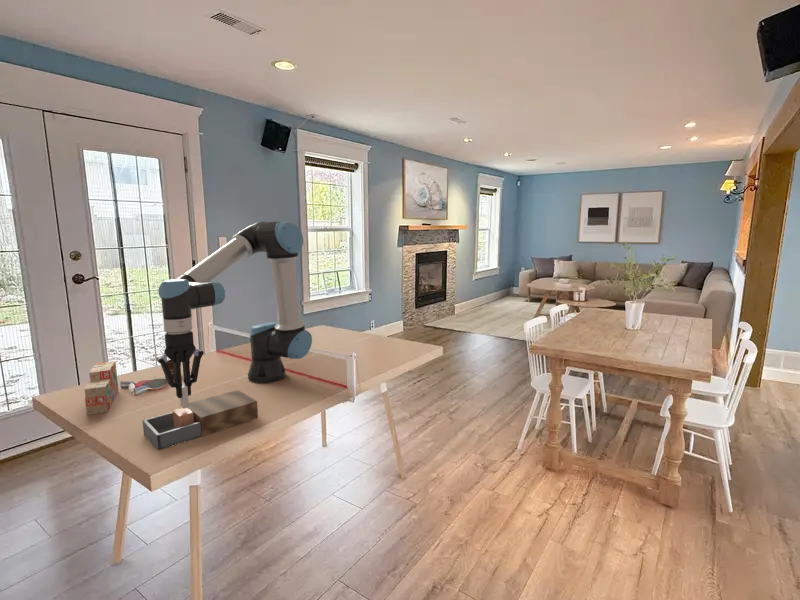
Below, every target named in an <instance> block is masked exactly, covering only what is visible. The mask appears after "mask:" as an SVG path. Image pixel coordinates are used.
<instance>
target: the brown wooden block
mask: <svg viewBox="0 0 800 600" xmlns="http://www.w3.org/2000/svg"><path fill="white" fill-rule="evenodd" d="M258 408H259V407H258V400H256V399H255V398H253V397H251V396H249V395H247V394H246V393H244V392H242V391H241V390H239V389H236V390H233V391H230V392H225V393H221V394H217V395H214V396H210V397H207V398H202V399H199V400H195V401H190V402H189V407H188V409H190V410H191V411H192V412H193V414H194V423H197V422H200V424H201V435H202V436H201V437H204V435H205V436H207V435H206V434H208V435H210V434H209V433H211V434H213V432H214V433H216V431H217V432H220V431H223V430H225V428H227V429H229V427H230V428H232V426H233V427H235V425H236V426H239V425H241V424H244V423H248V422H251V421H254V420H257V419H259V414H258V410H259V409H258ZM238 424H239V425H238ZM222 429H223V430H222ZM219 430H220V431H219Z"/></svg>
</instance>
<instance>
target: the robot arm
mask: <svg viewBox="0 0 800 600" xmlns="http://www.w3.org/2000/svg"><path fill="white" fill-rule="evenodd" d="M303 246H304V236H303V232H302V230H301V229H300V227H299V226H297V224H296V223H294V222H291V221H283V220H281V221H278V220H277V221H259V222H258V221H257V222H254V223H253V224H251V225H248V226H247V227H245V228H243V229H242V230H240V231H238V232H237V233H235V234H234V235H233V236H232V237H231V239H230V241H228V242H227V243H225V244H224V245H223V246H221V247H220V248H219V249H217V250H216V251H214V252H213V253H212V254H210V255H209V256H207V257H206V258H205V259H203V260H201V261H200V262H199V263H197V264H196V265H193V267H191V268H190V269H188V270H187V271H186V272H184V273H183V274H181V275H180V276H177V278H176V279H165V280H163V281H161V283H160V284H159V286H158V297H159V298H160V300H161V307H162V318H163V331H164V332H165V334H164V341H165V342H164V343H165V349H164V351H163V352H164V353H163V354H162V355H161V356H158V357H156V360H155V361H157V362H158V363H159V364H160V366H161V368H162V371H163V374H164V377H166V378H165V379H166V381H167V384H168V386H169V387H170V388H172V389H173V388H175V394H176V397H177V398H178V399H180V407H181V408H188V407H189V403H190V402H189V396H192V386H193V384H194V383H197V380H198V377H199V371H200V364H201V359H202V358H203V355H204V351H203V350H201V349H198V348H196V346H195V344H194V331H192V330H193V321H192V316H193V315H192V310H195V309H200V308H207V307H214V306H216V305H220V304H222V303H224V301H225V298H226V290H225V287H224V286H223V284H222V283H220V282H219V281H214V280H216V279H217V278H218V277H220V276H221V275H222V274H224V273H226V272H227V271H228V270H229V269H231V268H232V267H234V266H235V265H236V264H237V263H239V262H240V261H242V260H243V259H244V258H250V257H251V256H252V255H254V254H257V253H258V254H259V253H262V252H263V253H266V259H267V260H268V261H269V262H271V270H272V278H273V279H272V280H273V286H274V287H273V289H274V297H275V299H274V300H275V306H276V315H277V321H271V322H263V323H258V324H254V325H252V326H251V328H250V331H249V332H250V333H249V334H250V335H249V337H250V338H249V341H250V351H251V353H250V354H251V363H250V366H249V370H248V373H247V378H248V379H249V380H248V379H247V380H248V381H249V382H251V383H256V384H267V383H269V384H271V383H275V382H278V380H279V381H281V380H283V379H285V378H286V377H287V376H286V374H287V373H286V368H285V365H284V364H283V361H282V357H283V358H286V359H287V358H288V359H291V360H292V359H293V360H295V359H296V360H301V359H303V358H304V357H305V356H307V354H308V353H309V351H310V349H311V347H312V343H313V337H312V334H311V333H310V332H309V331H308V330H306V328H305V322H304V321H302V320H301V314H300V306H299V305H300V303H299V293H298V284H297V283H298V282H297V274H296V260H297V259H298V257H299V252H301V250H302V249H303ZM192 356H193V360H192V364H191V361H190V360H191V358H192ZM168 360H171V361H173V366H174V378H175V379H173V377H172V374H171V372H170V369H169V367H168V364H167V363H166V362H167V361H168ZM190 364H191V366H190ZM181 365H182V368H181ZM190 368H191V369H190ZM182 374H183V375H182ZM182 377H183V382H182ZM284 377H285V378H284Z"/></svg>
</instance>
